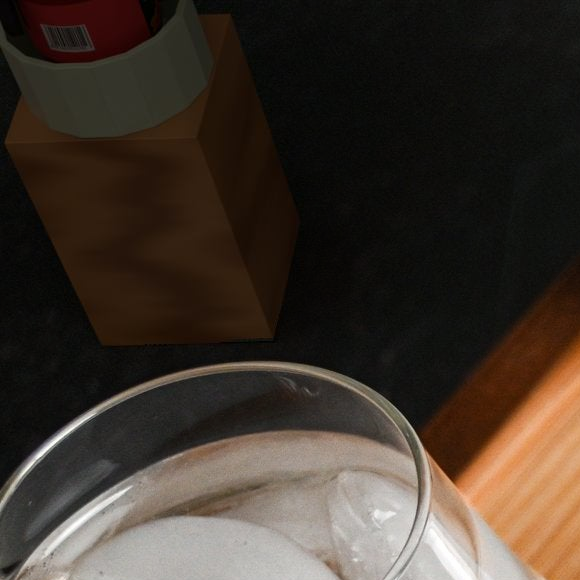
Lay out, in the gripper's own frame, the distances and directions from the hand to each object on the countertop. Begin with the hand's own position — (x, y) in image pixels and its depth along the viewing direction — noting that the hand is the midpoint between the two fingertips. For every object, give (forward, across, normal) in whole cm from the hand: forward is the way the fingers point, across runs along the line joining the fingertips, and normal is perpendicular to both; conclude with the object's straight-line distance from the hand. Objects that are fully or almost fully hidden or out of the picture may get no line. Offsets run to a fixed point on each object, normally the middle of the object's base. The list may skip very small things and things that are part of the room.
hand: (87, 12), depth 113 cm
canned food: (+1, 0, -5) cm, 5 cm away
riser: (+14, 0, -19) cm, 24 cm away
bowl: (+2, 0, -7) cm, 8 cm away
